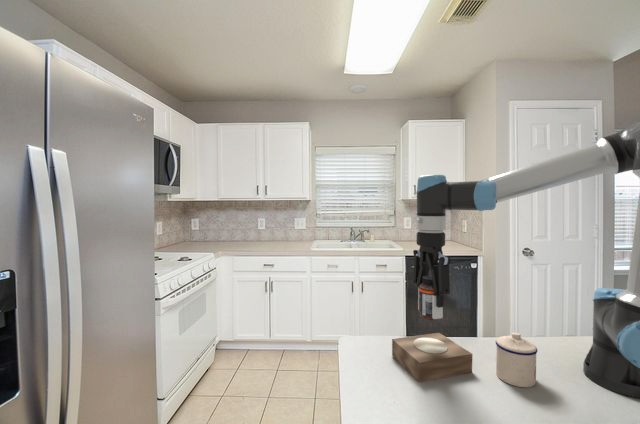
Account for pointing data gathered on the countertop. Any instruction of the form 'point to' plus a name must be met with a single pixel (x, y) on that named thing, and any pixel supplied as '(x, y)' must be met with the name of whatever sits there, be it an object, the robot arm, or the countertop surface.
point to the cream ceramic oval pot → (516, 360)
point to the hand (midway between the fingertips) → (429, 313)
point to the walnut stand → (431, 356)
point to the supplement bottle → (426, 298)
